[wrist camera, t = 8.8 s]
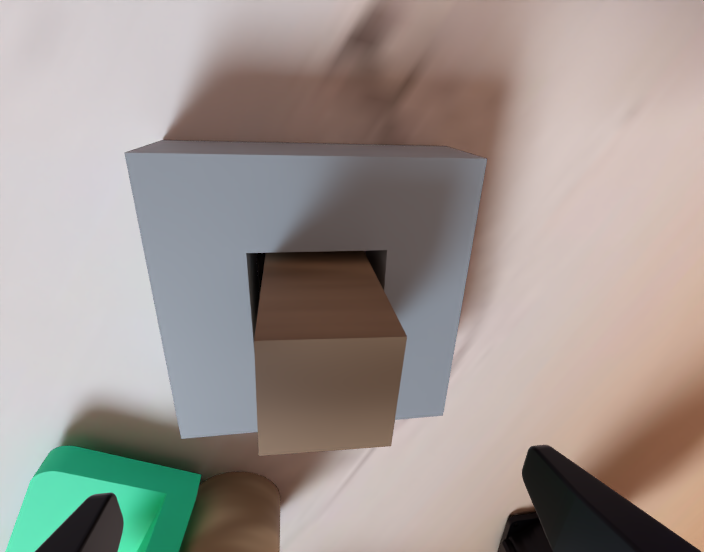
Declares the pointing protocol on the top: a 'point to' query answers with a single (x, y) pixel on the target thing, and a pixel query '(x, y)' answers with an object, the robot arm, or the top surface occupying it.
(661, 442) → the top surface
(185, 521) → the green angle bracket
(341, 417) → the square peg
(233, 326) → the socket block
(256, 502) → the round dowel
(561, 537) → the robot arm
